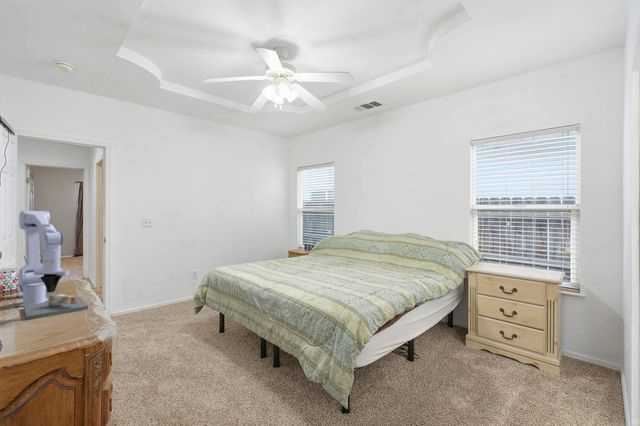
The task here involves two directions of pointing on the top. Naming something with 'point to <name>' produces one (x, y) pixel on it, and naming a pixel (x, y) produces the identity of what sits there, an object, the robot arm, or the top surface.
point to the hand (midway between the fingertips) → (51, 291)
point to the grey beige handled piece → (61, 300)
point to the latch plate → (52, 309)
